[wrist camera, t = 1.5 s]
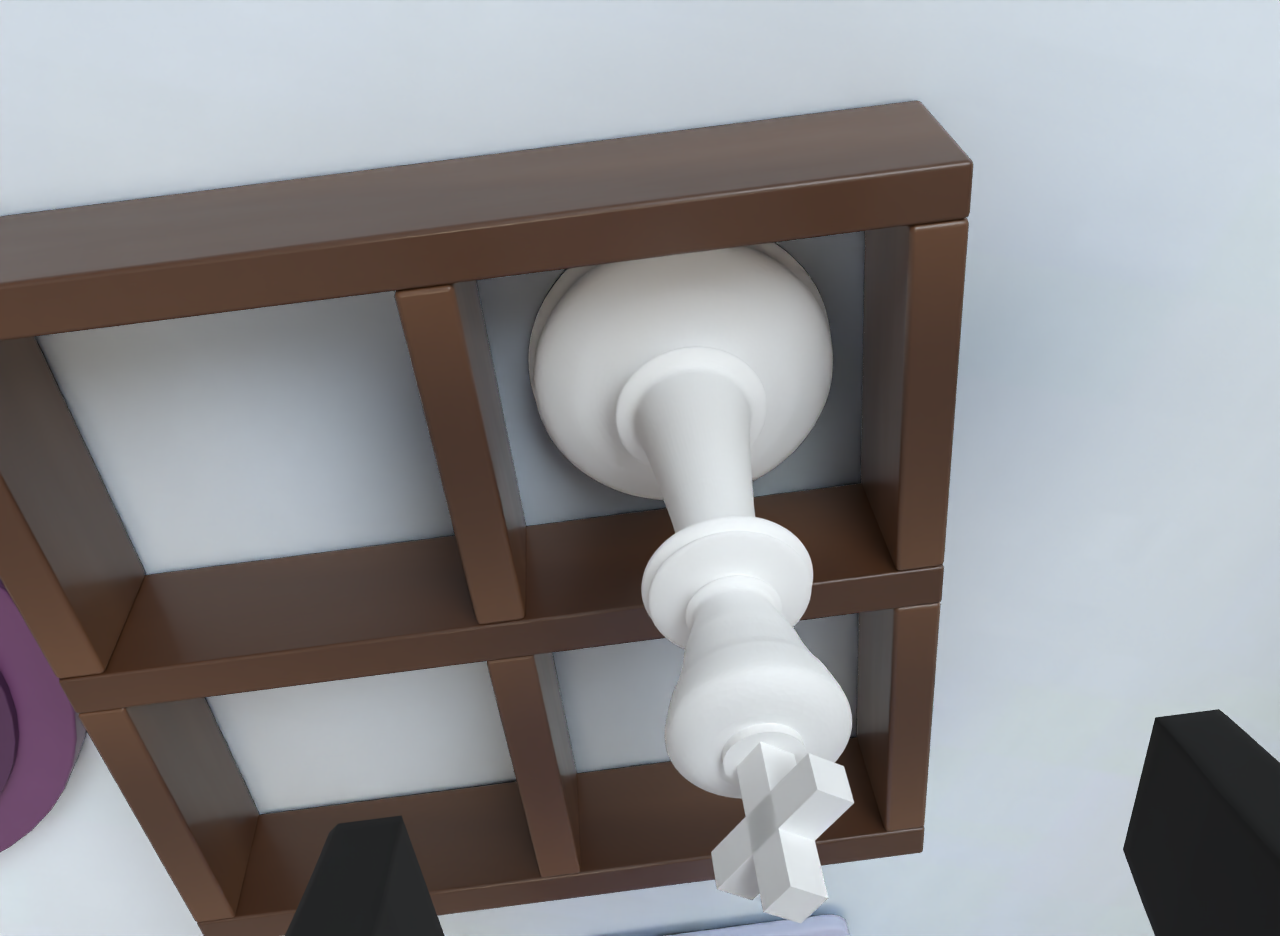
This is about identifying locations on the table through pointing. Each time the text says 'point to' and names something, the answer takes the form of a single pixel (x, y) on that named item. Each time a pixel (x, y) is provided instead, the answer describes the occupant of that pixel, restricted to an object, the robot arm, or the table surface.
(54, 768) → the lid
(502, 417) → the rack
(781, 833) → the chess piece
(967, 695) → the table surface
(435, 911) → the robot arm
